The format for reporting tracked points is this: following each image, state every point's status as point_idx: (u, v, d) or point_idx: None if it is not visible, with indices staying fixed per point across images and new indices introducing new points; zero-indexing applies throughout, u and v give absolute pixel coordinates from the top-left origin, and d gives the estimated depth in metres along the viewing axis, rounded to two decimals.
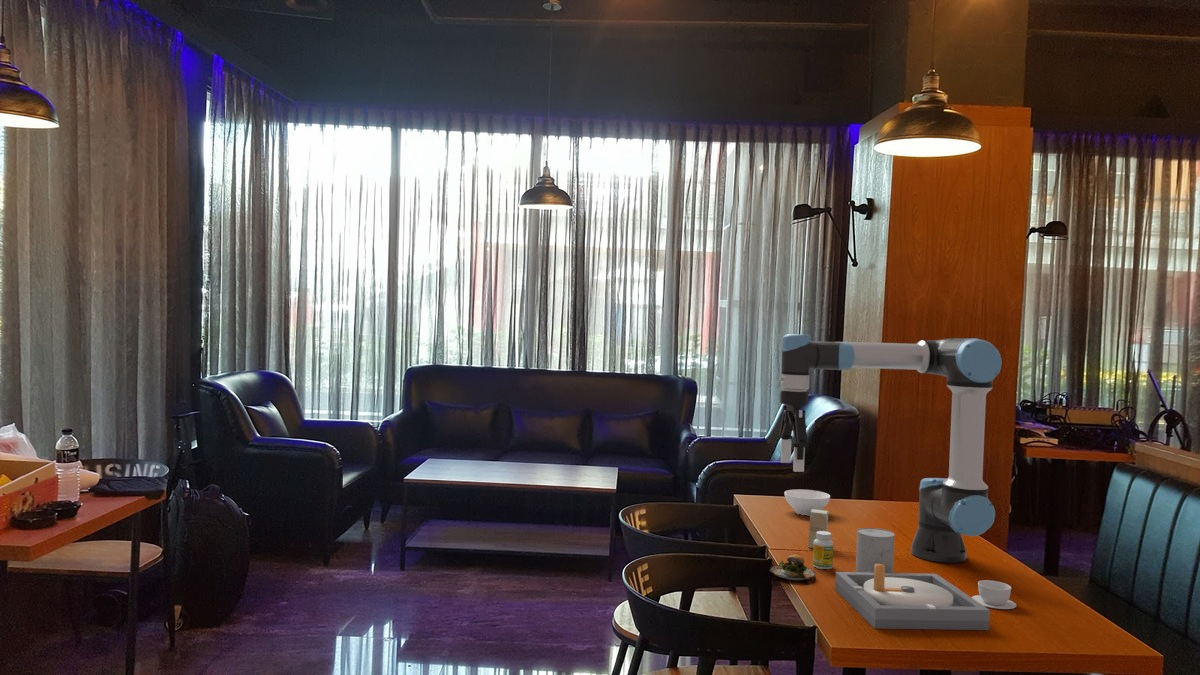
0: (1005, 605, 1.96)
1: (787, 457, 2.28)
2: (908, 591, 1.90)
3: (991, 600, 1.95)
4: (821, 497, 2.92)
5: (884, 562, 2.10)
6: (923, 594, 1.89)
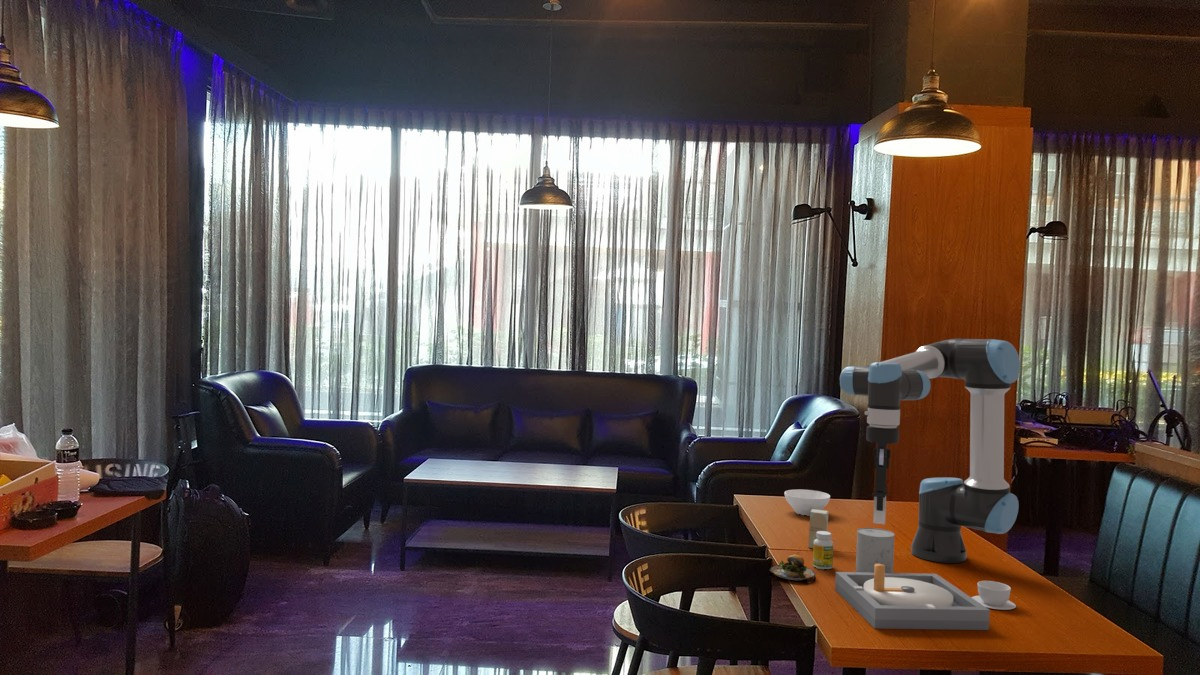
0: (1004, 606, 1.95)
1: None
2: (908, 591, 1.90)
3: (990, 601, 1.95)
4: (821, 497, 2.92)
5: (884, 562, 2.10)
6: (923, 594, 1.89)
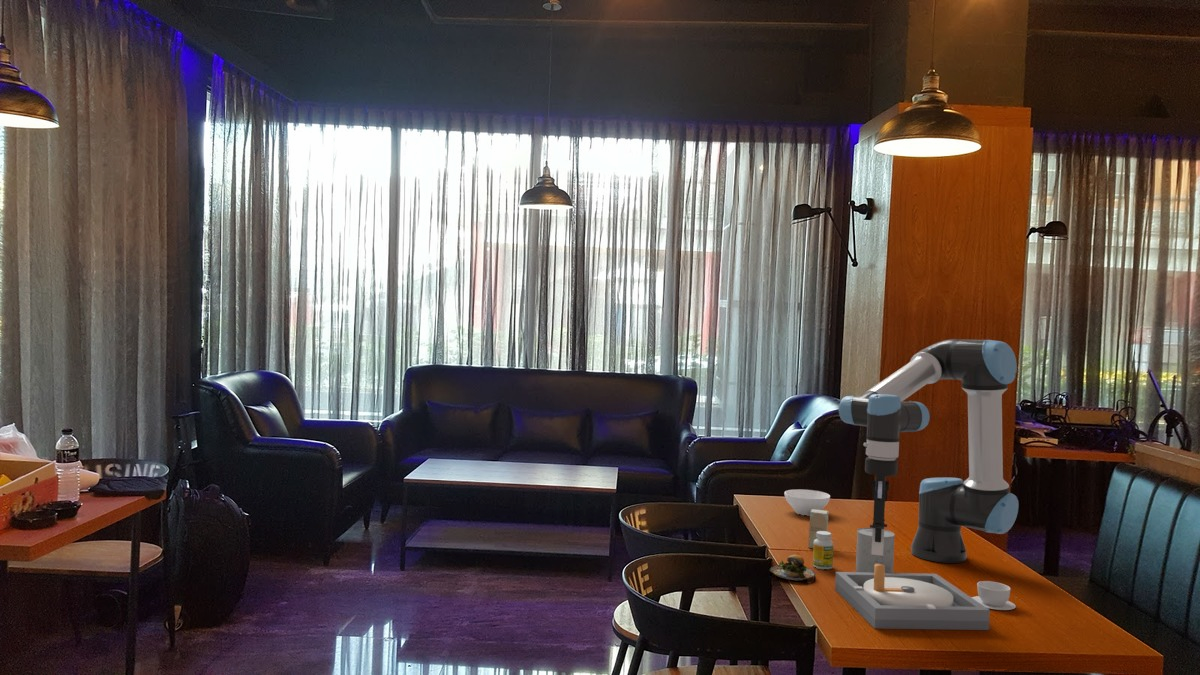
0: (1004, 606, 1.95)
1: None
2: (908, 591, 1.90)
3: (990, 601, 1.95)
4: (821, 497, 2.92)
5: (884, 562, 2.10)
6: (923, 594, 1.89)
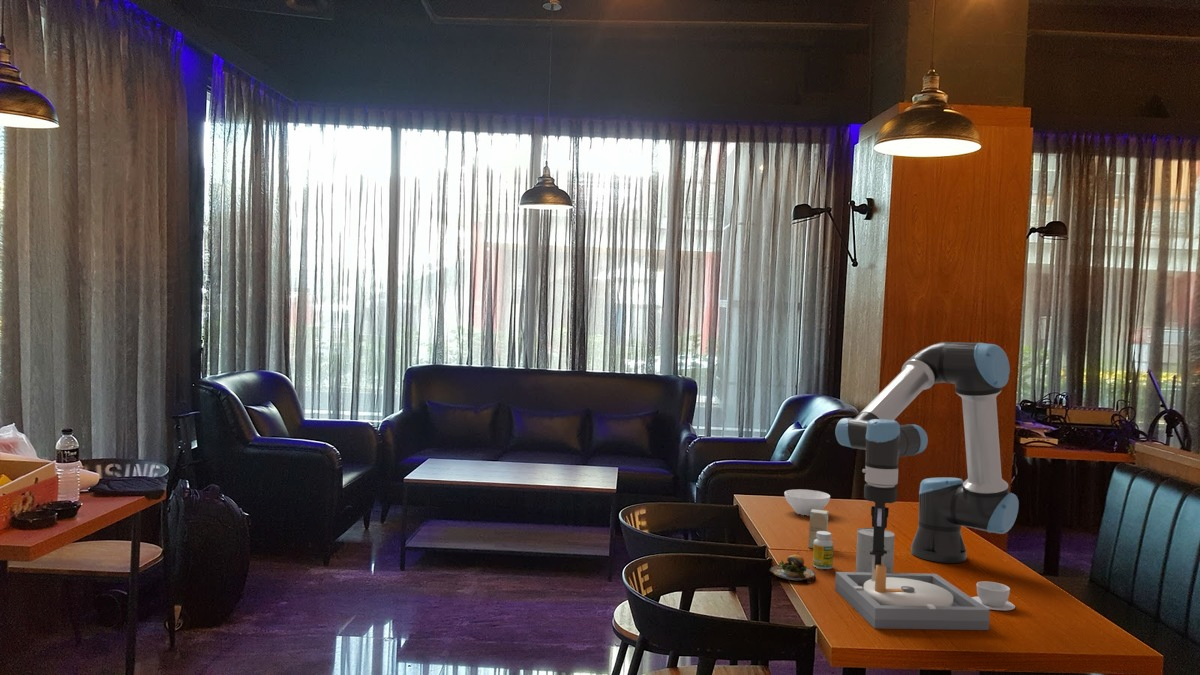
0: (1004, 606, 1.95)
1: None
2: (909, 591, 1.90)
3: (989, 601, 1.94)
4: (821, 497, 2.92)
5: (884, 562, 2.10)
6: (923, 594, 1.89)
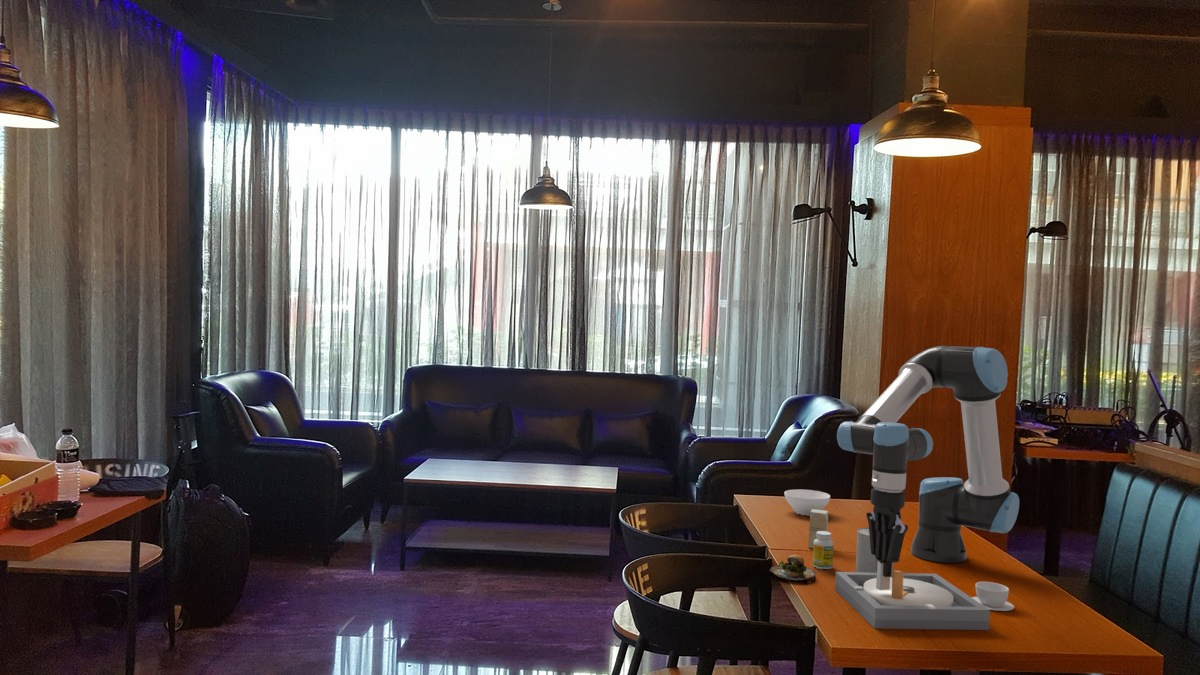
0: (1003, 607, 1.94)
1: None
2: (913, 591, 1.91)
3: (989, 602, 1.94)
4: (821, 497, 2.92)
5: None
6: (923, 591, 1.92)
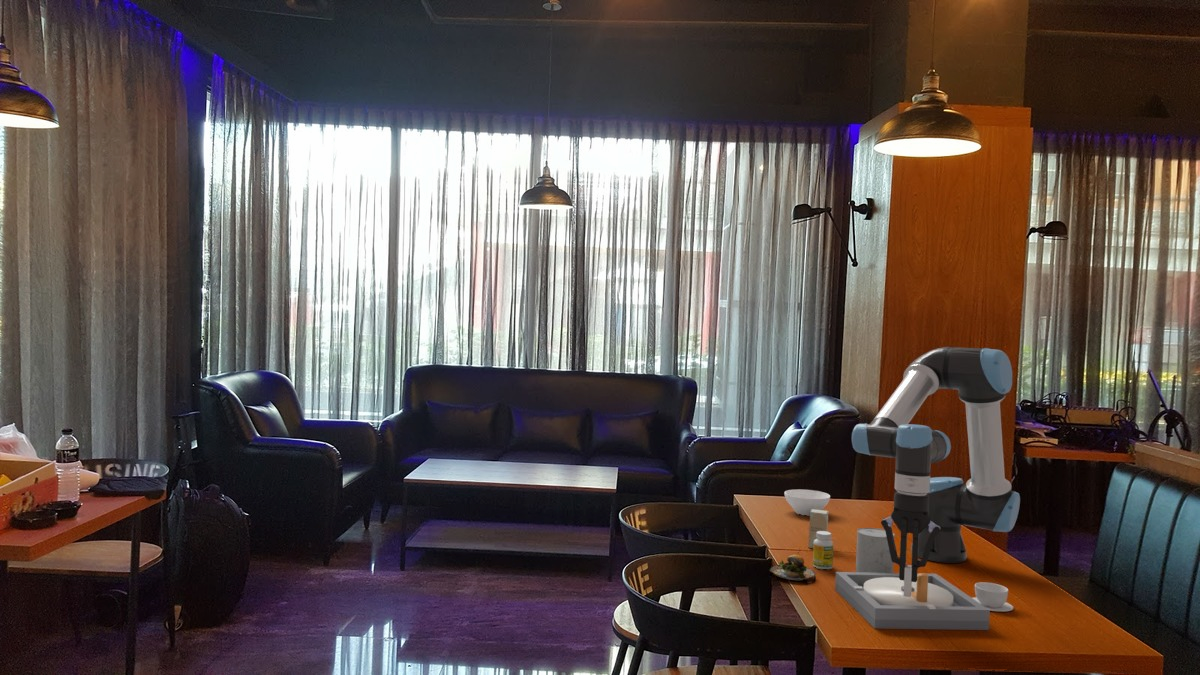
0: (1002, 607, 1.94)
1: None
2: None
3: (988, 602, 1.94)
4: (821, 497, 2.92)
5: (884, 562, 2.10)
6: (915, 587, 1.94)
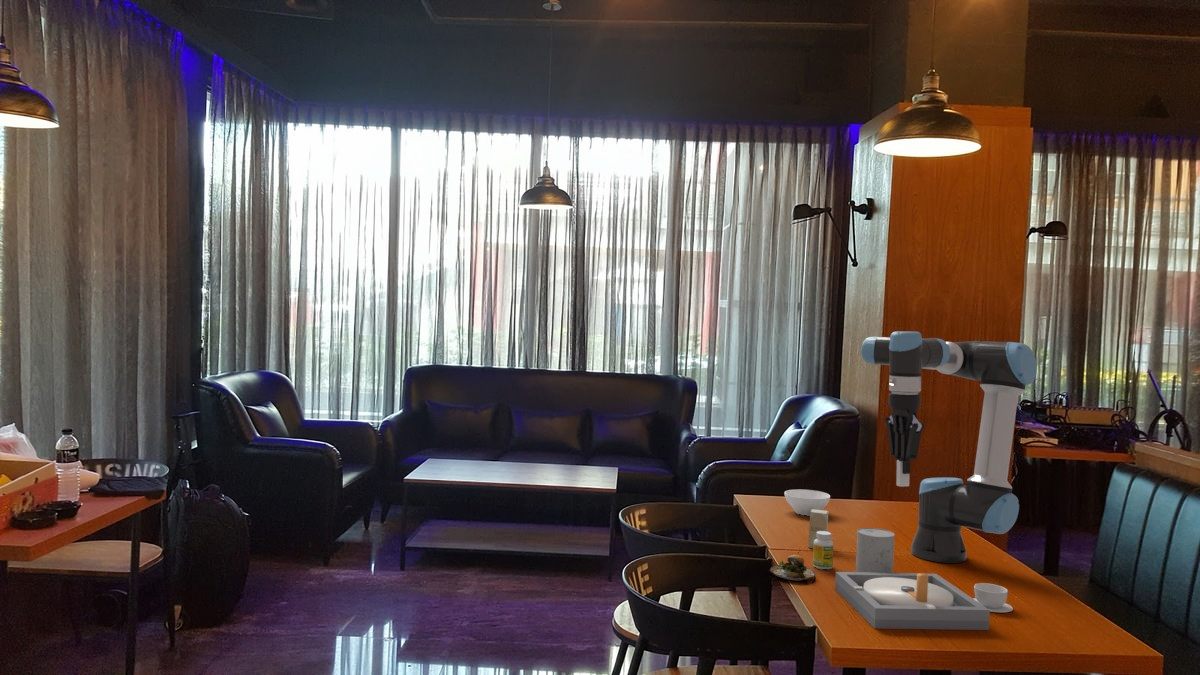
0: (1001, 608, 1.93)
1: None
2: None
3: (987, 603, 1.93)
4: (821, 497, 2.92)
5: (884, 562, 2.10)
6: (915, 587, 1.94)
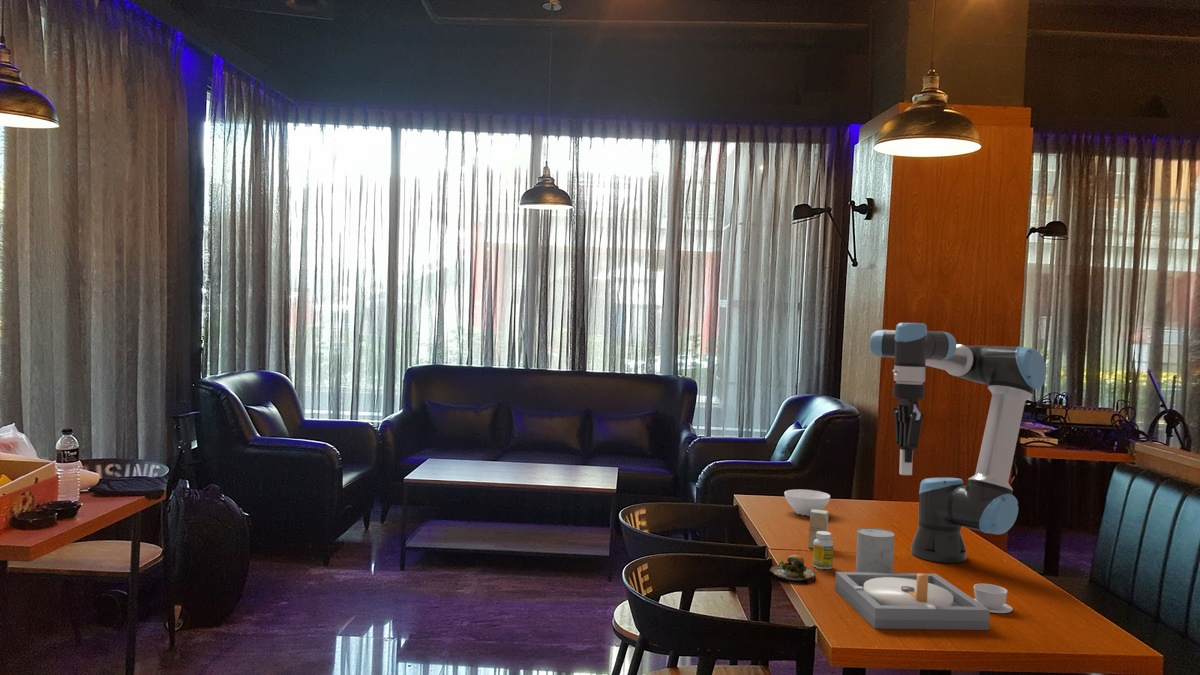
0: (1001, 609, 1.93)
1: None
2: None
3: (987, 604, 1.93)
4: (821, 497, 2.92)
5: (884, 562, 2.10)
6: (915, 587, 1.94)
